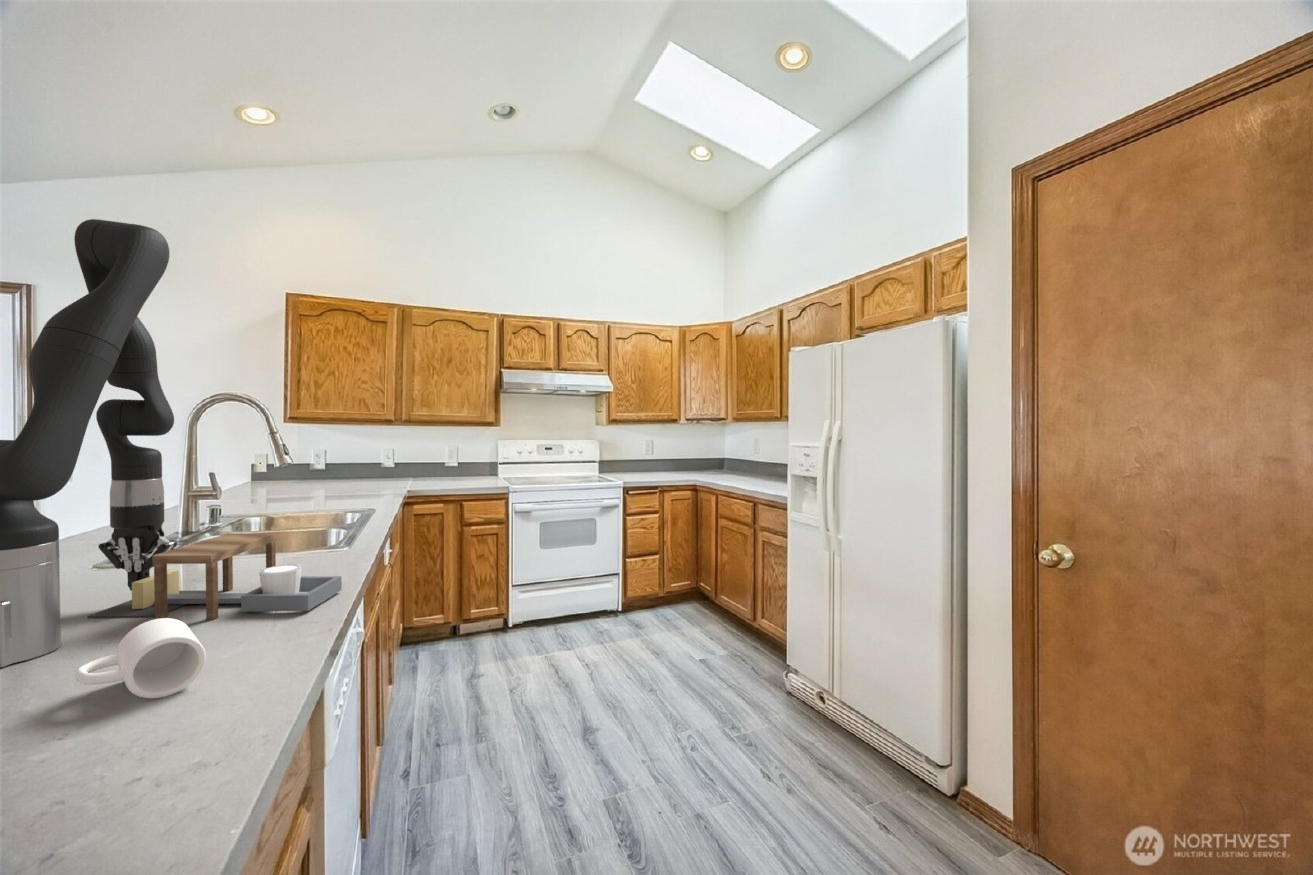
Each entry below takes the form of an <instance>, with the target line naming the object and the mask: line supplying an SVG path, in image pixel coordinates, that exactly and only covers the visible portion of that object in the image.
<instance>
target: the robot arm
mask: <svg viewBox="0 0 1313 875" xmlns="http://www.w3.org/2000/svg"><path fill="white" fill-rule="evenodd" d="M73 238H74V248H75V252H76V253H75V254H76V256H77V260H78V261H77V262H78V264H79V267H80V269H81V272H82V276H83V279H84V280H83V281H84V283H85V285H86V288H87V293H86V294H85V295H83V296H82V297H80V298H78V299H77V300H75V301H74V302H72V303H70V304H68V305H67V306H65V307H63V308H62V309H60V310H58V312H56V313H55V314H54V315H52V316H51V318H49V319H48V320H47V322H46V323H45V324H44V326H43V327H42V329H41V331H40V333H39V335H38V336H37V339H36V341H35V343H34V345H33V346H32V348H31V351H30V352H29V355H28V364H27V365H28V372H29V378H30V382H31V386H32V391H33V403H32V404H33V405H32V408H31V410H30V414H29V415H28V417H27V419H26V422H25V424H24V425H23V428H22V429H21V430H20V432H19V434H18V435H17V437H16V438H15V439H0V668H4V667H6V666H9V665H11V664H15V663H16V664H17V663H18V662H20V663H21V662H23V661H28V660H32V659H34V658H38V657H41V656H44V655H47V654H49V653H51V652H54V651H55V650H57V649H58V648H60V647H61V646H62V618H61V616H62V614H61V613H62V612H61V610H62V609H61V575H60V573H61V572H60V570H61V569H60V529H59V525H58V523H57V522H56V521H55V520H53V519H51V518H49V517H47V516H45V515H44V514H42V513H41V512H40V511H39V510H38V509H37V508H36V506H35V503H34V502H36V501H40V500H41V501H42V500H46V499H47V498H51V497H52V496H53V497H54V495H56V494H57V493H59V492H61V491H62V489H64V487H65V486H66V485H67V484H68V482H69V481H70V480H71V477H72V475H73V472H74V470H75V469H76V465H77V462H78V458H79V455H80V451H81V449H82V448H81V447H83V446H82V445H83V443H84V442H83V441H84V438H85V435H86V431H87V428H88V425H89V422H90V420H91V417H92V416H93V415H92V414H93V412H94V410H95V408H96V406H97V403H98V401H99V399H100V397H101V394H102V391H103V389H104V387H105V384H106V383H108V384H109V385H111V386H112V387H115V388H119V389H123V390H130V391H133V392H136V393H137V394H139V396H140V397H141V398H142V399H127V398H126V399H120V398H117V399H116V398H114V399H113V398H112V399H111V398H110V399H108V400H105V401H103V402H102V403H100V405H99V407H98V408H97V410H96V415H95V416H96V422H97V425H98V427H99V430H100V432H101V434H102V437H103V438H104V439H103V440H104V442H105V444H106V448H107V449H108V453H109V457H110V466H111V467H110V468H111V470H110V471H111V473H110V474H111V476H110V477H111V481H110V489H109V526H110V528H111V529H113V532H112V533H111V535H110V536H111V538H110V539H108V540H107V541H106V542H103V543H99V544H98V549H99V551H101V553H102V554H103V555H104V556H105V557H106V558H107V560H109V562H111V564H112V565H113V567H114V568H115V569H121V570H124V571H125V572H126V573H127V587H128V588H129V590H130V591H131V592H132V582H135V581H138V580H141V579H144V578H147V577H150V571H151V569H152V568H154V564H153V563H152V556H153V555H156V554H160V553H163V552H166V551H170V550H173V549H176V548H177V545H178V542H177V541H176V540H169V539H167V538H166V537H165V531H164V530H163V527H162V526H163V524H164V522H165V489H164V487H165V486H164V483H163V457H162V452H161V451H159V450H158V449H156V448H152V447H151V448H150V447H144V446H138V445H135V444H134V443H132V442H131V440H130V439H129V438H128V436H129V437H130V436H131V437H133V436H135V437H136V436H139V437H144V436H146V437H147V436H148V437H158V436H159V437H160V436H164V435H166V434H168V433H169V432H170V431H171V430H172V428H173V427H174V424H175V415H174V412H173V409H172V408H171V405H170V404H169V402H168V400H167V397H166V395H165V392H164V390H163V388H162V384H161V382H160V379H159V371H158V361H157V358H158V357H157V350H156V345H155V342H154V340H153V338H152V335H151V333H150V332H149V331H148V330H149V329H147V328H146V326H145V325H144V323H143V322H142V321H141V319H140V318H139V317H138V316H139V314H140V312H141V310H142V308H143V307H144V305H145V303H146V302H147V300H148V299H149V297H150V296H151V294H152V292H153V291H154V290H155V288H156V286H157V285H158V283H159V282H160V280H161V278H163V276H164V274H165V273H166V270H167V267H168V265H169V260H170V248H169V243H168V241H167V239H166V238H165V236H164V235H163V234H162V233H161V232H159V231H158V230H156V229H155V228H152V227H149V226H147V225H143V224H135V223H127V222H121V221H111V220H105V219H98V218H97V219H96V218H95V219H94V218H91V219H86V220H84V221H82V222H80V224H79V225H78V226H77V227H76V229H75V232H74V237H73Z"/></svg>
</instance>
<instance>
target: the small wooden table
mask: <svg viewBox="0 0 1313 875" xmlns="http://www.w3.org/2000/svg"><path fill="white" fill-rule="evenodd" d="M276 541H277V533H225V534H222V535H218V536H215V537H211V538H208V539H204V540H202V541H198V542H194V543H191V544H187V545H184V546H181V547H176V548H174V549H173V550H170V551H166V552H163V553H160V554H156V555H153V556H152V563H153V564H154V567H153V573H154V574H153V575H154V594H155V617H154V619H160V618H169V617H168V613H169V612H168V605H167V571H168V564H169V565H173V564H175V565H176V564H177V565H182V564H184V565H187V564H189V565H190V564H191V565H192V564H193V565H199V564H202V565H203V564H205V591H206V604H205V609H206V610H205V613H206V614H205V615H206V621H214V620H216V619H217V618H219V603H218V593H219V567H218V566H219V565H218V562H220V561H221V563H222V564H221V565H222V566H221V567H222V592H229V591H232V590H233V589H234V574H233V572H234V571H233V570H234V569H233V568H234V567H233V566H234V565H233V563H234V562H233V556H236V555H239V554H242V553H245V552H249V551H251V550H253V549H257V548H259V547H262V546H264V545H265V568H269V567H272V566H277V564H276V559H277V558H276V557H277V556H276Z"/></svg>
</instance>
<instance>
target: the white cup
mask: <svg viewBox="0 0 1313 875" xmlns="http://www.w3.org/2000/svg"><path fill="white" fill-rule="evenodd" d="M302 567H303V566H302V565H301V564H291V563H290V564H289V563H288V564H279V565H276V566H272V567H269V568H266V567H265V568H263V569H260V570H259V572H258V573H259V578H260V581H259V582H260V587H261V589H262V594H300V592H299V588H300V578H301V576H302Z"/></svg>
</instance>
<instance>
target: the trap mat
mask: <svg viewBox="0 0 1313 875" xmlns="http://www.w3.org/2000/svg"><path fill="white" fill-rule="evenodd" d="M203 593H206V590H179V594H203ZM167 605H168V613H170V612H172V611H175V610H177V609H180V608H181V607H184V606H186V605H187V604H167ZM86 618H89V619H92V618H96V619H99V618H101V619H102V618H103V619H105V618H109V619H110V618H111V619H112V618H113V619H114V618H155V604H154V605H151V606H149V607H146V608H144V609H132V599H130V600H126V601H125V602H122V603H119V604H117V605H113V606H111V607H108V608H105V609H103V610H100V611H98V612H95V613H92V614H90V615H89V614H88V615H87V616H86Z"/></svg>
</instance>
